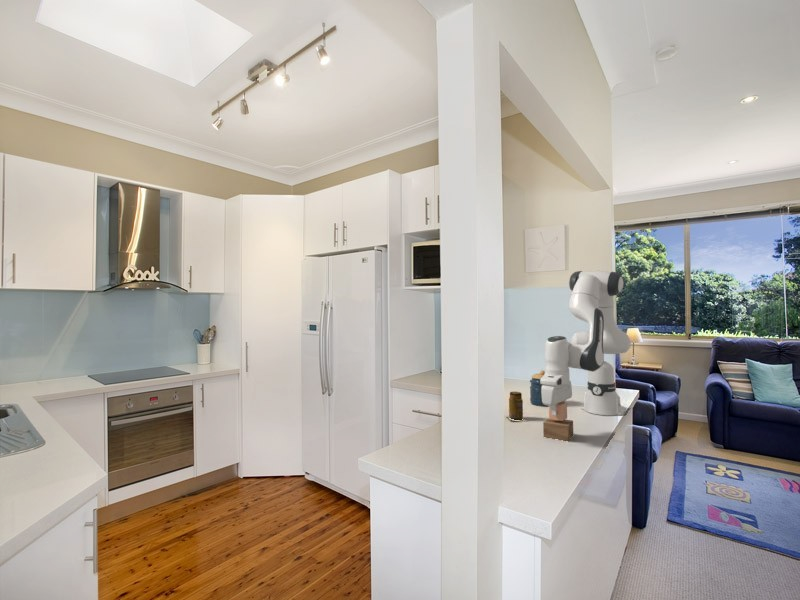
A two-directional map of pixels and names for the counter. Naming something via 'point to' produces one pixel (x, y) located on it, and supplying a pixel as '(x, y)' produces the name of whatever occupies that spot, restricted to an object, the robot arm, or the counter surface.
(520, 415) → the condiment
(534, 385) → the canister
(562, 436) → the walnut box
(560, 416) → the terracotta cube
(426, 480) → the counter surface
